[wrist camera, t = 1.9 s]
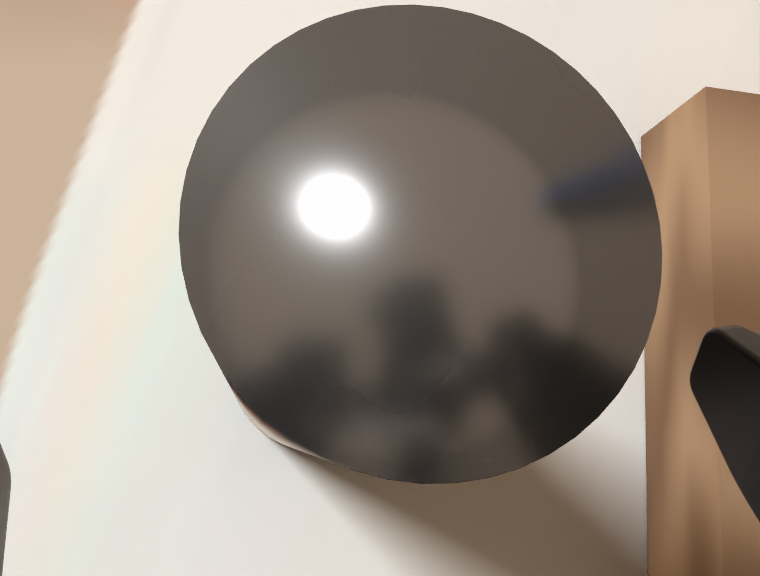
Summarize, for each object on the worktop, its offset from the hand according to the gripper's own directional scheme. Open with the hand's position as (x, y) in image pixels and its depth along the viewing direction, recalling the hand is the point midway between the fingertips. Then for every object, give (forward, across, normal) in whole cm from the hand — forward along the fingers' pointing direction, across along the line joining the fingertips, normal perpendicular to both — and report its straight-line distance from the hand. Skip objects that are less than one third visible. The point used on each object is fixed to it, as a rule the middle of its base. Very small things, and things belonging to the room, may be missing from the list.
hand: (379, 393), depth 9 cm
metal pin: (+7, 0, +5) cm, 9 cm away
